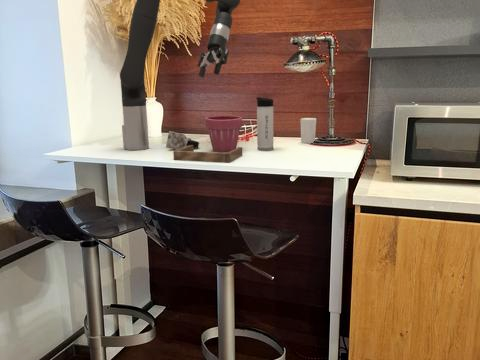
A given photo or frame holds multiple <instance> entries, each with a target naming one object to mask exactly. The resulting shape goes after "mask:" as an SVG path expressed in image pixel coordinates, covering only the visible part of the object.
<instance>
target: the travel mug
mask: <svg viewBox="0 0 480 360" xmlns="http://www.w3.org/2000/svg"><path fill="white" fill-rule="evenodd" d="M255 99H256V104H257V105H256V119H257V120H256V125H257V127H256V129H257V130H256V131H257V134H256V135H257V137H256V138H257V139H256V140H257V143H256V144H257V145H256V147H257V150H258V151H261V152H265V151H266V152H269V151H270V152H271V151H273V150H274V99H273V98H268V97H267V98H265V97H260V96H258V97H256V98H255Z"/></svg>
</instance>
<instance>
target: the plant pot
mask: <svg viewBox="0 0 480 360" xmlns="http://www.w3.org/2000/svg"><path fill="white" fill-rule="evenodd" d="M204 121H205V128H206V129H207V131H208V135H209V139H210V143H211V148H212V152H216V153H228V152H230V151H232V150H234V149H236V148H238V147H237V146H238V142H239V141H238V140H239V136H240V132H241V131H240V130H241V128H242V127H243V117H242V116H239V115H211V116H206V117H205V120H204Z"/></svg>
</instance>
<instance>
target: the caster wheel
mask: <svg viewBox="0 0 480 360" xmlns="http://www.w3.org/2000/svg"><path fill="white" fill-rule="evenodd" d="M189 145H193V146H194V149H199V145H200V142H199V141H196V140H193V139H192V138H190V137H188V138H187V136H186V134H183V133H181V132H175V131H171V130H169V131H168V134H167V139H166V144H165V148H166V149H169V150H170V149H171V150H174V151H176V150H178V149H181V148H184V147H186V146H189Z"/></svg>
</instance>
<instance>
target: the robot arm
mask: <svg viewBox="0 0 480 360" xmlns="http://www.w3.org/2000/svg"><path fill="white" fill-rule="evenodd" d="M204 2H207V3H213V2H217V3H216V6H215V7H216V10H215V17H214V20H213V24H212V27H211V30H210V33H209V35H208V40H207V42H206V43H207V44H206V48H207V51H206V52H205V53H204V52H201V53H200V56H199V59H198V63H197V67H199V71H198V72H199V73H198V76H199V77H200V78H204V77H205V75H206V74H205V73H206V71H207V69H208V67H210V66H211V65H212V64H214V63H215V65H214V68H213V74H214V75H216V76H218V75H219V74H220V72H221V68H222V67H223V65H226V64H227V62H228V57H229V52H230V50H228V48H227V45H228V42H229V38H230V32H231V27H232V25H233V24H232V23H233V17H232V13H233V11H234V10H235V9H237V8H238V7H239V5H240V3H241V0H204ZM160 3H161V0H136V1H135V3H134V7H133V10H132V14H131V19H130V25H129V31H128V32H129V33H128V44H127V51H126V54H125V57H124V60H123V61H124V62H123V65H122V67H121V69H120V72H119V79H120V91H121V104H122V105H121V106H122V107H121V108H122V118H123V124H122V126H121V131H122V132H121V133H122V144H123V149H124V150H128V151H142V150H147V149H149V148H150V142H149V131H148V130H149V129H148V115H147V114H148V113H147V100H146V99H147V95H146V84H145V69H146V62H147V55H148V52H149V49H150V47H151V44H152V40H153V38H154V33H155V30H156V26H157V22H158V15H159V8H160Z"/></svg>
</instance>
